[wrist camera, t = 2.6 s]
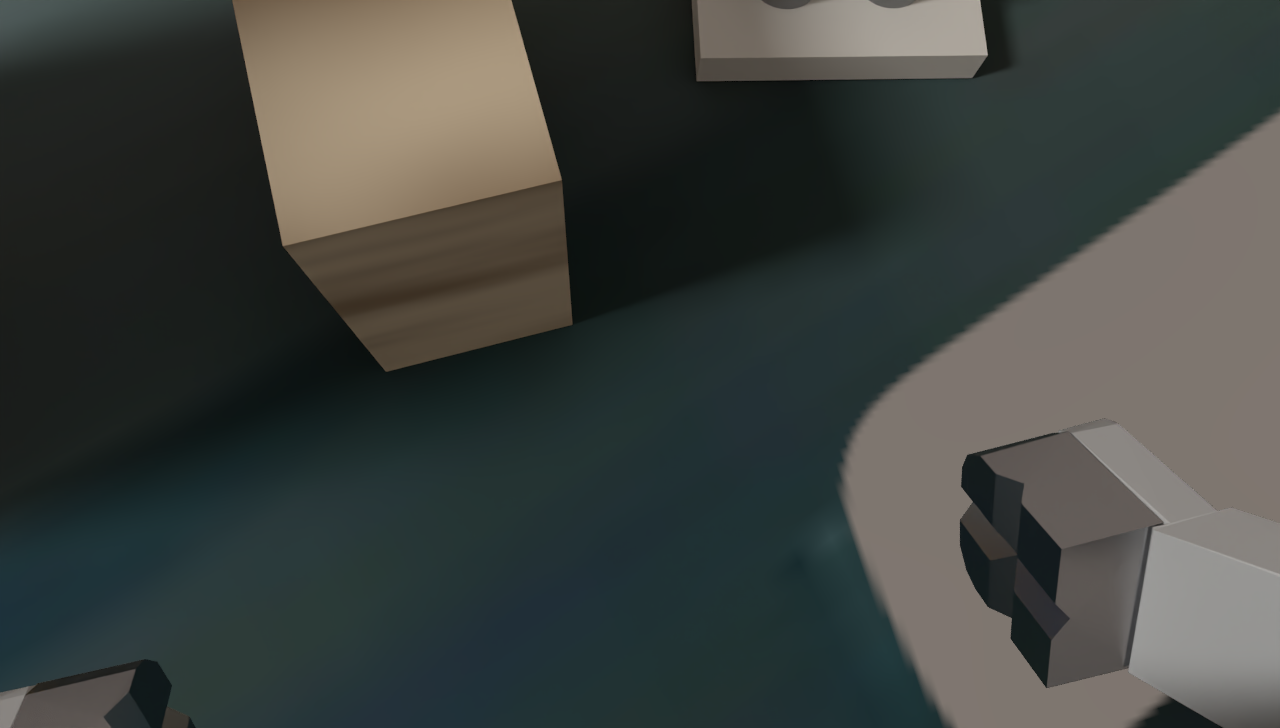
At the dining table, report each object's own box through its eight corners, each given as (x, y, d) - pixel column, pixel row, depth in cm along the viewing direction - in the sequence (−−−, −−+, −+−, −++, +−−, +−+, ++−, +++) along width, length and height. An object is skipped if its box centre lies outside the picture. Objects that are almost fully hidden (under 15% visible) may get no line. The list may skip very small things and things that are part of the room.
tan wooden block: (572, 325, 27) (561, 179, 18) (386, 372, 26) (282, 246, 17) (484, 4, 29) (437, -262, 20) (312, 41, 29) (187, -215, 20)
